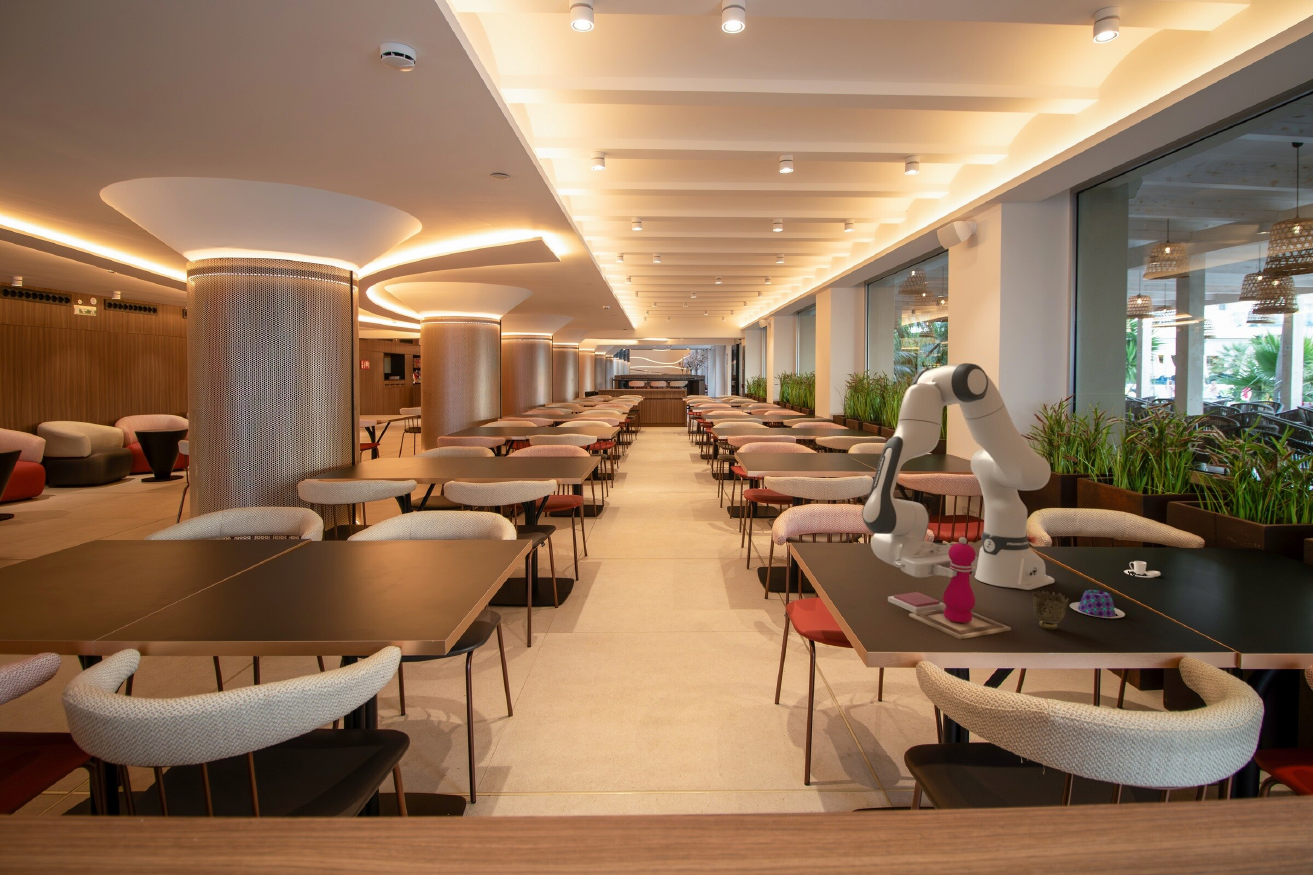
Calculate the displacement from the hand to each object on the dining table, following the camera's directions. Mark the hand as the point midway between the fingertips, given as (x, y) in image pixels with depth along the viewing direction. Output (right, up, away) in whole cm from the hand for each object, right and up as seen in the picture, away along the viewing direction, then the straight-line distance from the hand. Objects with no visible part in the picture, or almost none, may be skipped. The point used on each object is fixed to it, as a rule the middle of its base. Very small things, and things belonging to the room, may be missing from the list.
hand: (964, 572), depth 165 cm
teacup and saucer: (+75, -11, +45) cm, 88 cm away
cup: (+20, -13, 0) cm, 24 cm away
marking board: (-1, -13, +2) cm, 13 cm away
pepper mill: (-1, -12, +2) cm, 12 cm away
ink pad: (-6, -11, +15) cm, 20 cm away
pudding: (+40, -13, +12) cm, 43 cm away
